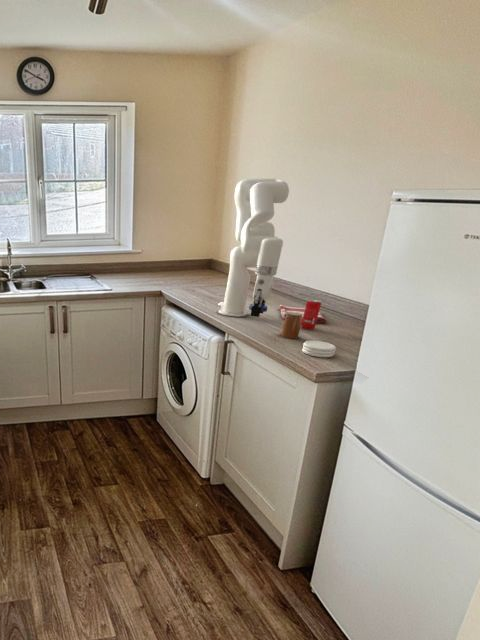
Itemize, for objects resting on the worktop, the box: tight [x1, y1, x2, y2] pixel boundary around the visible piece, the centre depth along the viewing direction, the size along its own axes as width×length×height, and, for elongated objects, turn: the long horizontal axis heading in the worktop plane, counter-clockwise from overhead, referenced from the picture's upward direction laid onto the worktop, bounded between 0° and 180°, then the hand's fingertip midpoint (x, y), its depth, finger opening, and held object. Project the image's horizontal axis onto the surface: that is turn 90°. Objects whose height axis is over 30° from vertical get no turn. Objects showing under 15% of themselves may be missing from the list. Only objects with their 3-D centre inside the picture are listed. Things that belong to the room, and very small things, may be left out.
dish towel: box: [278, 304, 327, 324], centre depth 214 cm, size 17×23×3 cm
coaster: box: [301, 340, 337, 359], centre depth 165 cm, size 10×10×4 cm
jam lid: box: [248, 303, 268, 313], centre depth 186 cm, size 7×7×2 cm
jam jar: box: [280, 312, 303, 340], centre depth 183 cm, size 6×6×10 cm
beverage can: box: [301, 299, 322, 331], centre depth 194 cm, size 5×5×12 cm
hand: (256, 314), depth 187 cm, fingers closed on jam lid, 6 cm apart
